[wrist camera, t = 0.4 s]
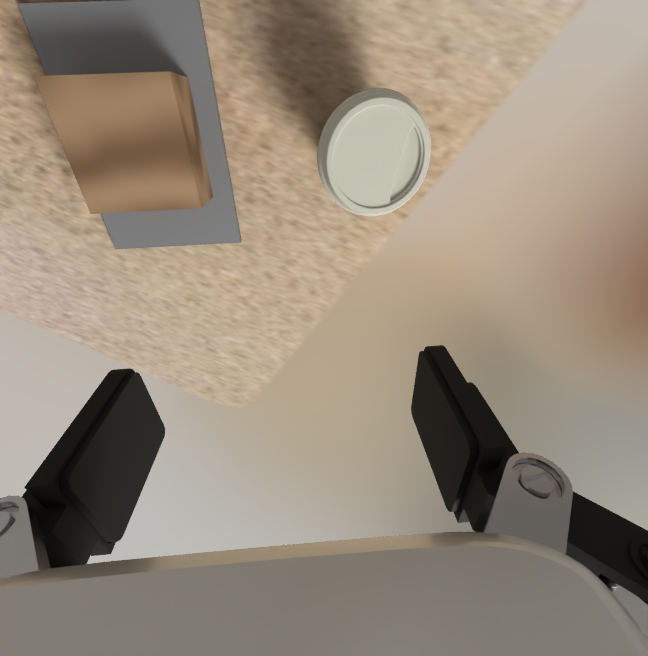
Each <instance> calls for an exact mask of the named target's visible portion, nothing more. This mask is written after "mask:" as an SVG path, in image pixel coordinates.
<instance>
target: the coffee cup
mask: <svg viewBox="0 0 648 656" xmlns="http://www.w3.org/2000/svg"><path fill="white" fill-rule="evenodd" d="M430 155H431V139H430V133H429V129H428V126H427V123H426V120H425V118H424V116H423V114H422V113H421V111H420V110H419V109H418V107H417V106H416V105H415V104H414V103H413V102H412V101H411V100H410V99H408V98H407V97H406V96H404V95H402V94H401V93H399V92H396V91H394V90H390V89H385V88H372V89H367V90H363V91H360V92H358V93H355V94H354V95H352V96H350V97H348V98H347V99H346V100H344V101H343V102H342V103H341V104H340V105H339V106H338V107H337V108H336V109H335V110H334V111H333V113H332V114H331V115H330V117H329V118H328V120H327V122H326V124H325V126H324V128H323V130H322V133H321V136H320V140H319V144H318V152H317V163H318V171H319V175H320V178H321V181H322V184H323V186H324V188H325V190H326V191H327V193H328V194H329V196H330V197H331V198H332V199H333V200H334V202H336V203H337V204H338V205H339V206H340V207H342V208H343V209H345V210H347V211H349V212H351V213H354V214H357V215H362V216H378V215H383V214H386V213H389V212H391V211H393V210H395V209H397V208H399V207H400V206H402V205H403V204H404V203H406V202H407V201H408V200H409V199H410V198H411V197H412V196H413V195H414V194H415V192H416V191H417V190H418V188H419V187H420V185H421V184H422V182H423V180H424V177H425V175H426V173H427V169H428V166H429V162H430Z"/></svg>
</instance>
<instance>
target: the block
mask: <svg viewBox="0 0 648 656" xmlns="http://www.w3.org/2000/svg"><path fill="white" fill-rule="evenodd" d="M34 78H35V81H36V83H37V86H38V88H39V90H40V93H41V95H42V98H43V100H44V102H45V105H46V107H47V110H48V112H49V114H50V117H51V119H52V122H53V124H54V127H55V129H56V131H57V134H58V136H59V139H60V141H61V143H62V146H63V148H64V151H65V153H66V155H67V158H68V160H69V163H70V165H71V167H72V170H73V172H74V175H75V177H76V180H77V182H78V184H79V187H80V189H81V192H82V194H83V196H84V199H85V201H86V204H87V206H88V208H89V211H90V213H91V214H99V213H119V212H139V211H159V210H179V209H199V208H202V207H203V206H204V205H205V204H206V203H207V202H208V201H209V200H211V199H212V198H213V194H212V189H211V184H210V179H209V174H208V170H207V165H206V160H205V155H204V150H203V146H202V141H201V136H200V131H199V127H198V122H197V117H196V112H195V107H194V103H193V98H192V93H191V88H190V83H189V79H188V77H185V76H182V75H179V74H176V73H173V72H170V71H166V72H138V73H110V74H82V75H54V76H34Z"/></svg>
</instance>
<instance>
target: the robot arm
mask: <svg viewBox="0 0 648 656" xmlns="http://www.w3.org/2000/svg"><path fill="white" fill-rule="evenodd" d="M411 410H412V416H413V419H414V422H415V425H416V427H417V430H418V433H419V435H420V438H421V441H422V443H423V446H424V449H425V452H426V454H427V457H428V459H429V462H430V465H431V468H432V470H433V473H434V475H435V478H436V481H437V484H438V486H439V489H440V492H441V494H442V497H443V500H444V502H445V505H446V508H447V509H448V511H450V512H454V514H455V517H456V519H457V522H458V523H461V522H470V524H471V526H472V529H473V530H474V531H475V532H444V533H429V534H414V535H399V536H386V537H374V538H362V539H351V540H339V541H327V542H315V543H304V544H293V545H281V546H270V547H259V548H248V549H237V550H226V551H216V552H205V553H194V554H184V555H174V556H163V557H153V558H142V559H132V560H121V561H111V562H102V563H93V564H87V561H88V559H89V557H90V555H91V556H94V555H106V554H111V552H112V550H113V548H114V545H115V543H116V542H117V541H119V540H120V539H121V538H122V536H123V534H124V532H125V530H126V527H127V524H128V522H129V520H130V518H131V515H132V513H133V510H134V508H135V505H136V503H137V501H138V498H139V496H140V493H141V491H142V489H143V486H144V484H145V481H146V479H147V477H148V474H149V472H150V470H151V467H152V465H153V462H154V460H155V458H156V455H157V453H158V450H159V448H160V446H161V443H162V441H163V438H164V436H165V427H164V424H163V422H162V420H161V418H160V416H159V414H158V412H157V410H156V408H155V405H154V403H153V401H152V399H151V397H150V395H149V393H148V390H147V388H146V386H145V384H144V382H143V380H142V378H141V376H140V374H139V373H135V371H134V370H132V369H118V370H111V371H110V372H109V373H108V374H107V376H106V377H105V378H104V380H103V381H102V382H101V384H100V385H99V386H98V388H97V389H96V391H95V392H94V393H93V395H92V396H91V398H90V399H89V400H88V401H87V403H86V404H85V406H84V407H83V408H82V410H81V411H80V412H79V414H78V415H77V416H76V418H75V419H74V421H73V422H72V423H71V425H70V426H69V427H68V429H67V430H66V431H65V433H64V434H63V436H62V437H61V438H60V440H59V441H58V442H57V444H56V445H55V446H54V448H53V449H52V451H51V452H50V453H49V455H48V456H47V457H46V459H45V460H44V461H43V463H42V464H41V466H40V467H39V468H38V470H37V471H36V472H35V474H34V475H33V477H32V478H31V479H30V481H29V482H28V483H27V485H26V486H25V488H26V489H27V491H26V492H25V493H24V495H23V496H22V497H19V496H7V497H3V498H0V656H648V531H647V530H645V529H643V528H642V527H640V526H638V525H636V524H634V523H632V522H630V521H628V520H626V519H624V518H622V517H621V516H619V515H617V514H615V513H613V512H611V511H609V510H607V509H605V508H604V507H602V506H600V505H598V504H596V503H594V502H592V501H590V500H588V499H586V498H585V497H583V496H581V495H579V494H577V493H575V492H573V491H572V485H571V483H570V480H569V478H568V477H567V475H566V474H565V473H564V472H563V471H562V469H560V468H559V467H558V466H557V465H556V464H554V463H553V462H552V461H550V460H548V459H546V458H544V457H542V456H539V455H536V454H533V453H519V452H518V451H517V449H516V447H515V446H514V444H513V443H512V441H511V440H510V438H509V437H508V435H507V434H506V432H505V431H504V429H503V427H502V426H501V424H500V423H499V421H498V420H497V418H496V416H495V415H494V413H493V412H492V410H491V409H490V407H489V406H488V404H487V403H486V401H485V400H484V398H483V397H482V395H481V393H480V392H479V390H478V389H477V387H476V386H475V385H474V384H473V383H471V382H470V383H467V382H466V380H465V378H464V377H463V375H462V373H461V372H460V370H459V369H458V367H457V366H456V364H455V362H454V361H453V359H452V357H451V356H450V354H449V353H448V351H447V349H446V348H445V347H444V346H442V345H440V346H427V347H425V349H424V351H421V352H420V353H419V358H418V365H417V372H416V378H415V385H414V392H413V398H412V405H411Z"/></svg>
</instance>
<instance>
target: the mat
mask: <svg viewBox="0 0 648 656" xmlns="http://www.w3.org/2000/svg"><path fill="white" fill-rule="evenodd" d="M18 6H19V8H20V11H21V14H22V16H23V19H24V21H25V24H26V26H27V29H28V31H29V34H30V36H31V39H32V41H33V44H34V46H35V49H36V51H37V54H38V56H39V59H40V61H41V64H42V66H43V69H44V71H45V74H46V76H54V75H82V74H110V73H138V72H166V71H170V72H173V73H176V74H179V75H182V76H185V77H188V79H189V83H190V88H191V93H192V98H193V103H194V107H195V112H196V117H197V122H198V127H199V131H200V136H201V141H202V146H203V150H204V155H205V160H206V165H207V170H208V174H209V179H210V184H211V189H212V194H213V198H212V199H211V200H209V201H208V202H207V203H206V204H205V205H204V206H203V207H202V208H199V209H179V210H159V211H139V212H119V213H101V215H102V217H103V220H104V222H105V225H106V227H107V230H108V232H109V235H110V237H111V240H112V242H113V245H114V247H115V249H128V248H146V247H165V246H183V245H202V244H221V243H239V242H241V236H240V230H239V224H238V219H237V213H236V207H235V202H234V196H233V190H232V185H231V179H230V173H229V168H228V162H227V156H226V151H225V145H224V139H223V134H222V128H221V122H220V116H219V111H218V105H217V99H216V94H215V88H214V82H213V77H212V71H211V65H210V60H209V54H208V48H207V43H206V37H205V31H204V26H203V20H202V14H201V9H200V3H199V0H121V1H86V2H50V3H18Z"/></svg>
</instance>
